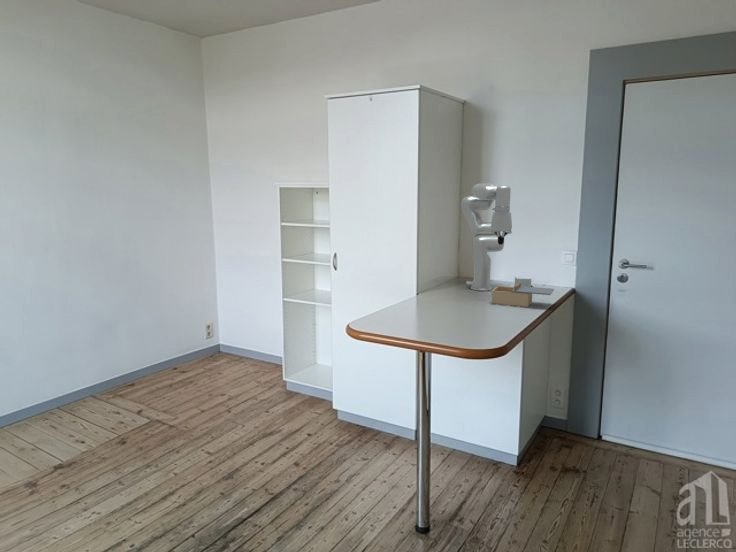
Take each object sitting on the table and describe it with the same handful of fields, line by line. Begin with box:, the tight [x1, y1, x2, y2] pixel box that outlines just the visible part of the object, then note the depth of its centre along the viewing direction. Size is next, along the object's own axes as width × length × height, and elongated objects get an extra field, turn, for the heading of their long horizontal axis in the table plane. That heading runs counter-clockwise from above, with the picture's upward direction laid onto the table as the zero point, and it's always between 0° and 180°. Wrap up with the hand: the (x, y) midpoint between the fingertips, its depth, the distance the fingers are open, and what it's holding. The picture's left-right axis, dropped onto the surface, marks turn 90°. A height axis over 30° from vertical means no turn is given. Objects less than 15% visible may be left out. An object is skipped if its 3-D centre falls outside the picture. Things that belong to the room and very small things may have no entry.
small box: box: [514, 276, 532, 287], centre depth 277 cm, size 8×6×10 cm
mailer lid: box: [511, 282, 555, 296], centre depth 256 cm, size 19×15×3 cm
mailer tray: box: [491, 285, 533, 308], centre depth 261 cm, size 18×14×7 cm
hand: (500, 244), depth 269 cm, fingers closed
